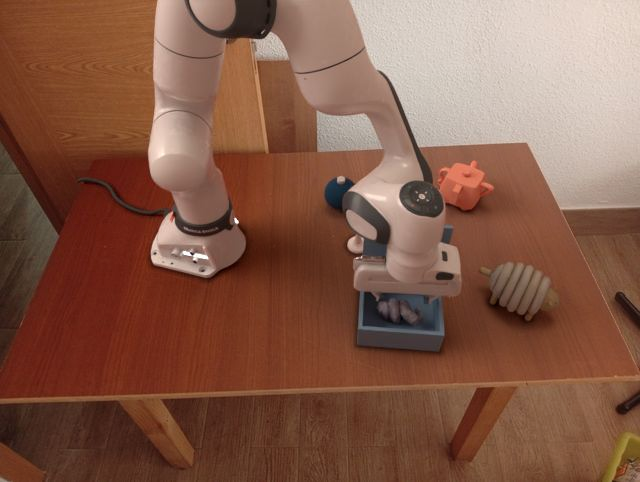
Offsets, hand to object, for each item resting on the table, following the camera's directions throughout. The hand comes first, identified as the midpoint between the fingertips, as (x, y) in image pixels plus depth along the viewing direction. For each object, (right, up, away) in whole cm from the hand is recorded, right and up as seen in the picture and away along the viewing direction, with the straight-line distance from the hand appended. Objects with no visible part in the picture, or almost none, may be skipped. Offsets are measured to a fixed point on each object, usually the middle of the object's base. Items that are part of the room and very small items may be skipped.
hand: (403, 299), depth 97 cm
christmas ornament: (-11, +21, +27) cm, 36 cm away
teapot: (+20, +23, +28) cm, 41 cm away
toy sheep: (+25, -1, +8) cm, 26 cm away
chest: (0, -5, +6) cm, 7 cm away
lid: (0, +10, -1) cm, 10 cm away
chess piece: (-8, +11, +19) cm, 23 cm away
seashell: (0, -4, +5) cm, 7 cm away
